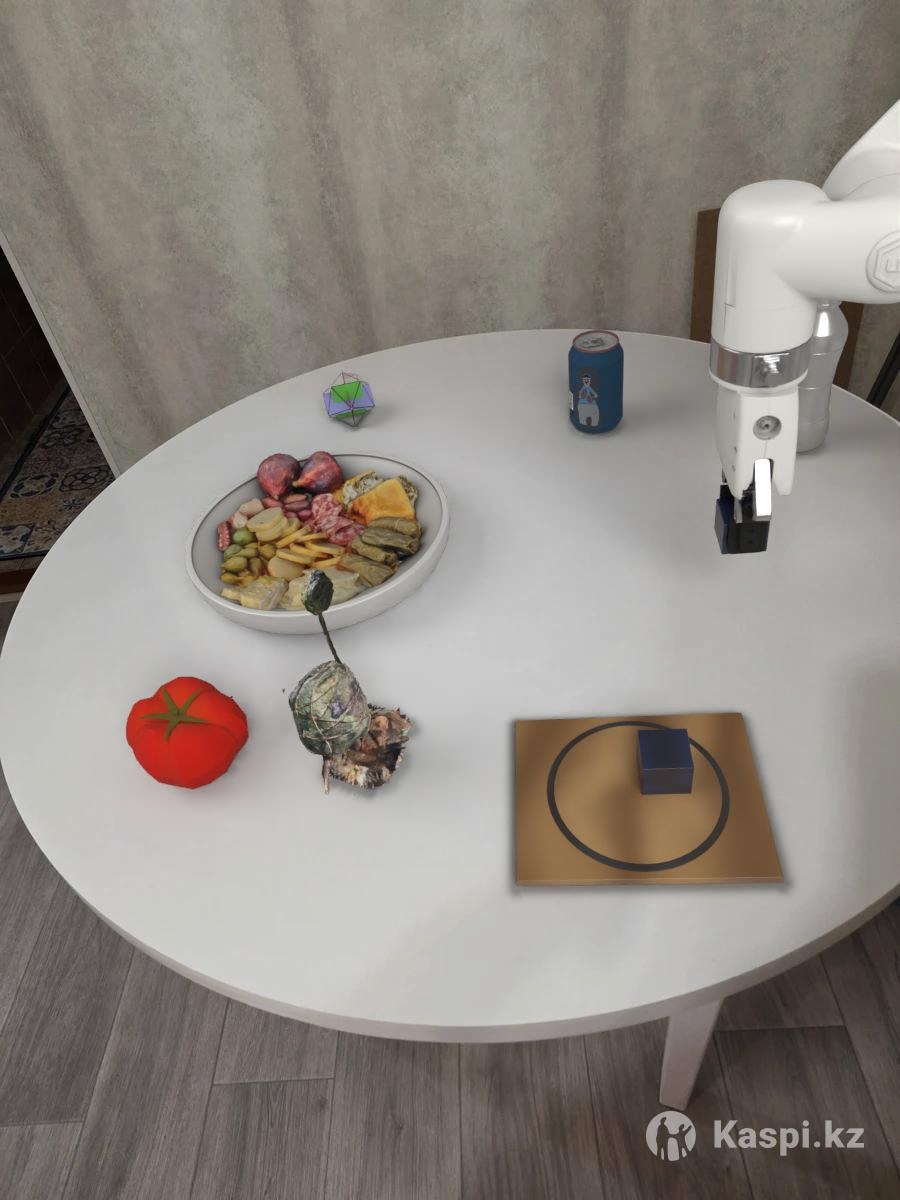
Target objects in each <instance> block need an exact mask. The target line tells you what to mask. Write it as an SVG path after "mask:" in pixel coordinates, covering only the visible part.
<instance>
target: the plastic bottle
mask: <svg viewBox="0 0 900 1200" xmlns="http://www.w3.org/2000/svg"><path fill="white" fill-rule="evenodd" d="M842 302H843V301H840V300H832V299H822V298H818V303H817V310H816V317H815V324H814V331H813V336H812V343H811V350H810V357H809V364H808V372H807V375H806V377H805V378H804V379H803V380H802V381H801V382H800V383H799V384H798V395H799V418H798V436H797V448H796V453H802V452H808V451H812V450H815V449H817V448H818V447H819V446H820V445H821V444H822V443H823V442H824V441H825V439H826V437H827V434H828V431H829V429H830V419H831V416H830V403H831V396H832V387H833V382H834V378H835V376H836V371H837V367H838V364H839V361H840V358H841V356H842V353H843V350H844V348H845V344H846V342H847V340H848V336H849V324H848V321H847V319H846V317H845V315H844V313H843V311H842V310H841V308H840V307H839V306H840V305H841V304H842Z"/></svg>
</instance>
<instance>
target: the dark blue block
mask: <svg viewBox="0 0 900 1200" xmlns="http://www.w3.org/2000/svg"><path fill="white" fill-rule="evenodd" d="M734 504H735V497H734V498H722V499H719V498H716V499H715V513H714V515H715V516H714V526H713V529H714V532H715V536H716V540H717V543H718V547H719V550H720V554H721V555H730V554H729V553H728V549H727V545H728V534H729V523H730V516H734ZM749 505H753V497H748V498H744V505H743V508H744V507H745V506H749ZM770 526H771V520H768V527H767V535H766V543H765V549H764V551H763V552H767V549H768V541H769V534H770Z"/></svg>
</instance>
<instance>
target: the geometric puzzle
mask: <svg viewBox="0 0 900 1200" xmlns="http://www.w3.org/2000/svg"><path fill="white" fill-rule="evenodd" d="M341 375H342V380H343V383H341V384H338V385H337V384H336V385H334V384H335V383H336V381H333V382H332V385H330V386H328V387H327V389H326V390H325V391H323V393H321V394H322V397H323V401H324V405H325V409H326V414H327V417H329V418H332V419H334V420H335V419H336V420H337V421H339V422H342V423H343V424H345V425H348V426H350V427H353V428H355V429H356V428H357V427H358V425H359V424H360V423H361V421H363V420H364V419H365V417H367V415H365V414H367V412H368V411H369V412H370V410H373V409H374V408H375V407H376V404H375V401H374V397H373V394H372V390H371V387H370V383H368V381H366V380H365V379H363V378H362V377H361V376H359V375H358V374H357V373H351V372H345V371H341V373H340V374H339V376H341ZM339 376H338V377H336V379H335V380H338V379H339ZM329 389H330V392H327V390H329ZM366 409H368V410H366ZM361 414H362V417H361V418H360V419H359V421H358V422H357V424H356V422H355V417H354V416H357V415H361ZM333 416H335V417H333ZM346 417H352V421H353V424H354V425H352V424H351V423H348V422H346V421H345V420H342V419H343V418H346Z"/></svg>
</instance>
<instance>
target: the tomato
mask: <svg viewBox="0 0 900 1200" xmlns="http://www.w3.org/2000/svg"><path fill="white" fill-rule="evenodd" d="M248 725H249V724H248V718H247V714H246V713H245V711H244V710H243V709H242V708H241V707H240V705H239V704H238V702H236V701H235V699H234V698H232V697H231V696H229V695H226V694H225V693H223V692H221V691H220V690H219V689H218V688H216V686H214V685H213V684H212V683H211V682H209V681H206V680H204V679H201V678H198V677H196V676H177V677H175V678H173V679H171V680H170V681H168V682H165V683H164V684H161V685H160V686H159V688H158V689H157V690H156V691H155V693H154V694H153V696H150V697H148V698H142V699H138V700H137V701H136V702H135V703H133V705H132V707H131V710H130V712H129V714H128V716H127V719H126V724H125V738H126V742H127V745H128V746H129V747H130V748H131V750H132V753H133V755H134V758H135V760H136V761H137V763H138V764H139V765H140V766H141V768H142V770H144V771H145V772H146V774H148V775H149V776H150V777H151V778H153V779H154V780H155V781H156V782H158V783H161V784H163V785H168V786H173V787H178V788H183V789H189V790H196V789H198V788H201V787H205V786H207V785H210V784H212V783H213V782H215V781H216V780H217V779H219V778H221V777H222V776H223V775H224V774H226V773H228V771H229V769H230V767H231V765H232V763H233V762H234V760H235V759H236V756H237V755H238V754H239V753H240V751H241V750H242V749H243V747H244V746H245V745H246V744H247V741H248V739H249V737H250V736H249V735H250V734H249V726H248Z"/></svg>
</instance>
